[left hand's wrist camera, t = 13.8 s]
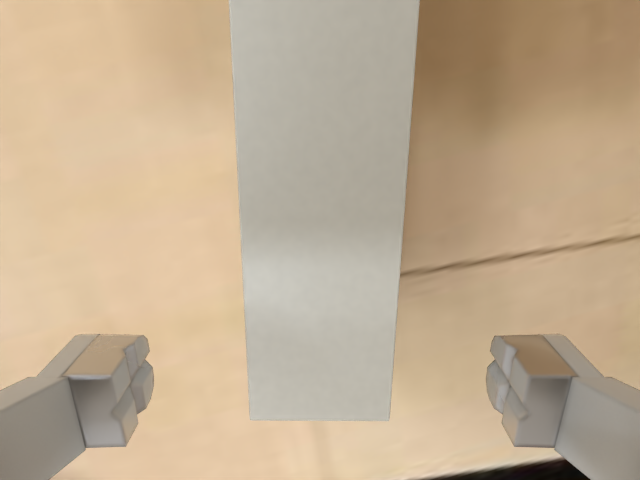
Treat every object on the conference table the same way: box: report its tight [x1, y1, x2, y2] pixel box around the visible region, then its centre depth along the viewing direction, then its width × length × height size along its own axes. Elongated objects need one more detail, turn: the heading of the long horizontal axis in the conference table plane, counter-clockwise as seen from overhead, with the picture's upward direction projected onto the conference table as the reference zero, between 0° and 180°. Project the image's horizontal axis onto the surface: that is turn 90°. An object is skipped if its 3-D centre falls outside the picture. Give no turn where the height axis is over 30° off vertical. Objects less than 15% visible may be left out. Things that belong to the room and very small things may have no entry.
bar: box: [229, 0, 420, 421], centre depth 14 cm, size 27×5×8 cm, turn 179°
